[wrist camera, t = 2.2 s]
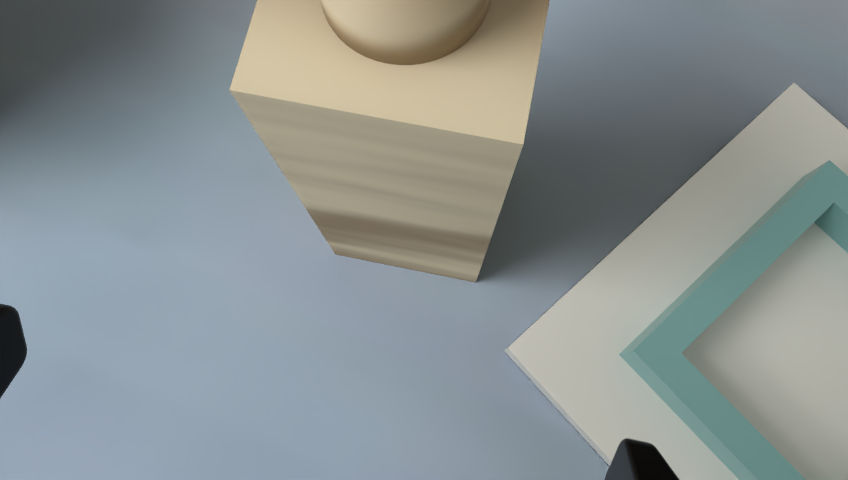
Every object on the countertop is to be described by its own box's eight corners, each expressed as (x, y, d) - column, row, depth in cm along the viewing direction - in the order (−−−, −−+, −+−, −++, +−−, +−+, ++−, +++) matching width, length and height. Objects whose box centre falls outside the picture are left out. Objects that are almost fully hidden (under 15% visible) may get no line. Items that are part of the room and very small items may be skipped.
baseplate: (834, 712, 19) (894, 757, 16) (504, 350, 21) (513, 343, 19) (1111, 385, 21) (1199, 382, 18) (779, 95, 24) (818, 60, 21)
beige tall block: (475, 282, 22) (532, 117, 9) (335, 254, 22) (209, 58, 10) (500, 149, 23) (580, -152, 11) (367, 125, 24) (292, -197, 11)
